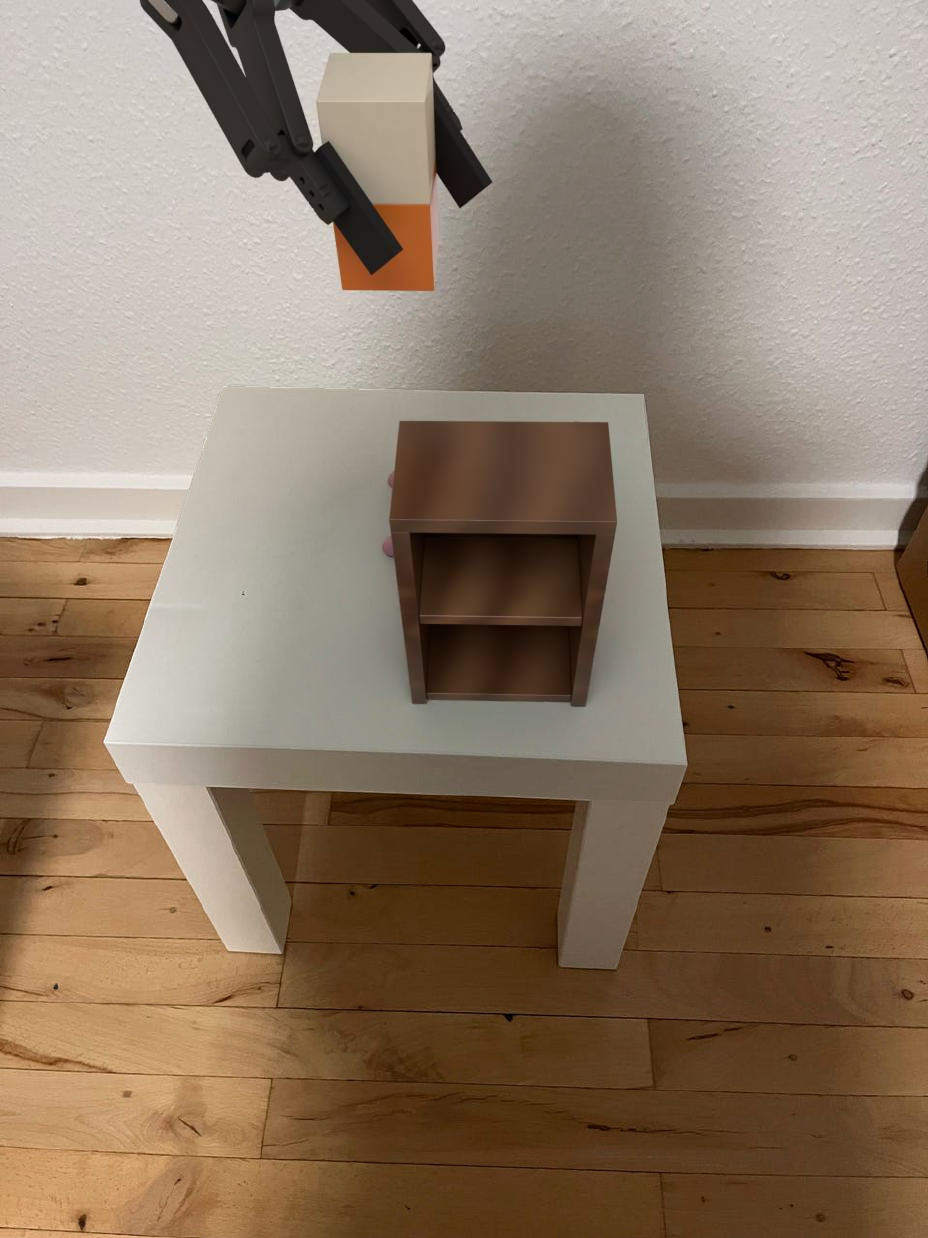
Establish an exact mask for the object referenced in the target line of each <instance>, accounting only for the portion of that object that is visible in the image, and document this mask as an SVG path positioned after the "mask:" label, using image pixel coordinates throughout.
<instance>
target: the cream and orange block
mask: <svg viewBox="0 0 928 1238" xmlns="http://www.w3.org/2000/svg"><path fill="white" fill-rule="evenodd" d="M433 76H434V73H433V74H432V54H431V53H349V52H329V53H328V58H327V62H326V65H325V68H324V73H323V76H322V79H321V83H320V85H319V90H318V93H317V97H316V100H315V103H316V112H317V119H318V126H319V134H320V140H321V145H323V144H325V143H326V142H328V141H329V142H330V143H331V145H332V146H333V147H334V149H335V150H336V152H337V153H338V155H339V156H340V158H341V159H342V161H343V162H344V163H345V165H346V166H347V168H348V169H349V171H350V172H351V174H352V175H353V177H354V178H355V179H356V181H357V182H358V184H359V185H360V187H361V188H362V190H363V191H364V193H365V194H366V195H367V197H368V198H369V200H370V201H371V203H372V204H373V206H374V207H375V209H376V210H377V211H378V213H379V214H380V216H381V217H382V219H383V220H384V222H385V223H386V225H387V226H388V227H389V229H390V230H391V232H392V233H393V235H394V236H395V238H396V239H397V241H398V242H399V243H400V245H401V246H402V248H403V250H402V251H401V252H400V253H398V254H397V255H396V256H395V257H394V258H392V259H391V260H390V261H389V262H388V263H386V264H385V265H384V266H383V267H382V268H380V269H379V270H378V271H376V272H375V273H374V274H372V275H371V274H370V273H369V271H368V270H367V269H366V267H365V266H364V264H363V263H362V262H361V260H360V259H359V257H358V256H357V255H356V253H355V252H354V250H353V249H352V247H351V246H350V245H349V243H348V242H347V240H346V239H345V238H344V236H343V235H342V233H341V232H340V230H339V229H338V228H337V226H336V225H335V223H334V222H332V226H333V234H334V240H335V248H336V256H337V263H338V270H339V277H340V284H341V290H342V291H381V292H383V291H386V292H387V291H388V292H392V291H394V292H396V291H397V292H434V291H435V285H436V277H437V266H438V265H437V264H438V257H439V256H438V255H439V246H440V245H439V244H440V228H439V227H440V226H439V225H440V224H439V201H438V180H437V178H438V177H437V176H438V175H437V173H436V148H435V123H434V99H433Z"/></svg>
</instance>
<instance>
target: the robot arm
mask: <svg viewBox="0 0 928 1238" xmlns="http://www.w3.org/2000/svg"><path fill="white" fill-rule="evenodd" d="M210 1H211V2H213V3H214V4H216V7H217V10H218V12H219V15H220V19H221V22H222V25H223V26H224V30H225V34H226V36H227V37H226V38H227V40H228V41H227V40H226V39H225V36H224V34H223V33H222V31H221V29H220V27H219V25H218V23H217V22H216V19H215V18H214V16H213V15H212V13H211V11H210V9H209V8H208V6H207V5H206V3H205V1H203V0H139V5H140V7H141V8H142V9H143V11H144V13H146V14H147V15H148V16H149V17H150V19H151V20H152V21H153V22H154V23H155V24H156V25H157V26H158V27H159V28H160V29H161V30H162V31H163V33H164V34H165V35H166V36H167V37H168V38H169V39H170V40H171V42H172V43H173V45H174V47H175V49H176V51H177V53H178V54H179V56H180V58H181V59H182V62H183V63H184V65H185V67H186V68H187V70H188V72H189V74H190V75H191V77H192V79H193V81H194V83H195V85H196V86H197V89H198V90H199V91H200V93H201V95H202V97H203V99H204V101H205V103H206V105H207V106H208V108H209V110H210V111H211V113H212V115H213V117H214V118H215V120H216V122H217V124H218V126H219V127H220V129H221V131H222V133H223V135H224V136H225V138H226V140H227V142H228V143H229V145H230V147H231V149H232V151H233V153H234V155H235V156H236V158H237V160H238V162H239V164H240V165H241V167H242V169H243V170H244V172H245V173H246V174H247V175H248V176H250V177H251V178H254V179H259V178H261V177H263V175H264V174H270V176H271V177H272V178H273V179H274V180H276V181H278V182H285V181H287V180H288V179H289V178H290V179H291V181H292V182H293V183H294V185H295V187H296V188H297V189H298V190H299V192H300V194H301V195H302V196H303V198H304V199H305V200H306V202H308V205H309V206H310V207H311V209H313V212H314V214H316V216H317V217H318V218H319V220H321V221H322V223H324V224H325V225H327V226H329V225H331V224H333V222H334V223H335V225H336V226H337V228H338V229H339V230H340V232H341V233H342V235H343V236H344V238H345V239H346V240H347V242H348V243H349V245H350V246H351V247H352V249H353V250H354V252H355V253H356V255H357V256H358V257H359V259H360V260H361V262H362V263H363V264H364V266H365V267H366V269H367V270H368V271H369V273H370V274H371V275H372V274H374V273H375V272H376V271H378V270H379V269H380V268H382V267H383V266H384V265H385V264H386V263H388V262H389V261H390V260H391V259H392V258H394V257H395V256H396V255H397V254H398V253H400V252H401V251H402V250H403V248H402V246H401V245H400V243H399V242H398V241H397V239H396V238H395V236H394V235H393V233H392V232H391V230H390V229H389V227H388V226H387V225H386V223H385V222H384V220H383V219H382V217H381V216H380V214H379V213H378V211H377V210H376V209H375V207H374V206H373V204H372V203H371V201H370V200H369V198H368V197H367V195H366V194H365V193H364V191H363V190H362V188H361V187H360V185H359V184H358V182H357V181H356V179H355V178H354V177H353V175H352V174H351V172H350V171H349V169H348V168H347V166H346V165H345V163H344V162H343V161H342V159H341V158H340V156H339V155H338V153H337V152H336V150H335V149H334V147H333V146H332V145H331V143H330V142H329V141H328V142H326V143H325V144H323V145H322V144H321V145H320V146H319V147H317V149H316V150H314V140H313V136H312V134H311V130H310V127H309V124H308V122H307V118H306V115H305V112H304V109H303V106H302V102H301V99H300V96H299V93H298V90H297V87H296V84H295V82H294V78H293V74H292V72H291V68H290V65H289V62H288V60H287V59H288V58H287V56H286V53H285V50H284V47H283V43H282V41H281V37H280V35H279V31H278V28H277V25H276V22H275V19H276V18H275V16H276V12H280V11H282V12H283V11H286V10H290V11H292V12H293V13H294V15H296V16H298V18H300V19H301V20H303V21H313V22H314V23H315V24H316V25H317V26H318V27H320V28H321V29H322V30H323V31H324V32H325V33H326V34H328V35H329V36H330V37H331V38H332V39H334V40H335V42H337V43H338V44H339V45H340V46H341V47H342V48H343V49H344V50H346V51H347V53H431V54H432V74H433V99H434V123H435V148H436V173H437V176H438V178H439V179H440V181H441V182H442V184H443V185H444V187H445V189H446V190H447V191H448V193H449V195H450V196H451V198H452V199H453V201H454V202H455V204H456V206H457V207H458V209H462V208H463V207H465V205H467V204H469V202H470V201H472V200H473V199H475V197H477V196H478V195H479V194H480V193H481V192H483V191H484V190H485V189H486V188H488V187H489V186H490V185H492V184H493V180H492V178H491V177H490V176H489V174H488V172H487V170H486V169H485V168H484V166H483V165H482V163H481V161H480V159H478V156H477V155H476V154H475V152H474V150H473V149H472V147H471V146H470V144H469V143H468V141H467V140H466V138H465V136H464V135H463V133H462V130H463V125H462V123H461V122H462V121H461V119H460V118H459V116H458V115H457V113H456V111H454V108H453V107H452V105H450V102H449V100H448V99H447V97H446V96H445V94H444V92H443V91H442V89H441V88H440V86H439V85H438V83H437V82H436V79H435V77H434V73H436V72H437V70H438V69H439V68H440V67H441V64H442V63H441V57H442V56H443V55H444V53H445V52H446V44H445V41H444V40H443V38H442V37H441V36H440V34H439V32H438V31H437V30H436V29H435V27H434V26H433V25H432V24H431V23H430V21H429V20H428V18H427V17H426V16H425V15H424V13H423V12H422V11H421V10H420V7H418V6H417V4H416V3H415V2H414V0H210ZM228 43H229V44H228ZM230 46H231V48H234V49H236V52H237V55H238V57H239V61H240V63H241V65H240V64H239V62H238V60H237V58H236V57H235V54H234V52H233V51H232V49H231V48H230ZM241 67H242V68H241Z"/></svg>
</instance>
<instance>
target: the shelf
mask: <svg viewBox="0 0 928 1238" xmlns="http://www.w3.org/2000/svg"><path fill="white" fill-rule="evenodd" d="M609 424H610V423H609V421H577V422H574V421H526V420H525V421H524V420H523V421H521V420H520V421H517V420H516V421H513V420H512V421H510V420H509V421H508V420H487V421H486V420H485V421H484V420H399V423H398V431H397V440H396V451H395V460H394V469H393V471H394V478H393V487H392V488H391V498H390V507H389V517H388V521H389V530H390V535H391V539H392V547H393V555H394V556H393V563H394V571H395V578H396V586H397V587H396V588H397V593H398V603H399V611H400V618H401V626H402V627H401V628H402V634H403V642H404V650H405V651H404V652H405V658H406V659H405V660H406V666H407V675H408V683H409V691H410V699H411V700H410V701H411V704H412V705H427V704H428V701H475V702H476V701H477V702H479V701H481V702H482V701H483V702H537V703H538V702H542V703H543V702H544V703H570V707H583V708H584V707H586V706H587V701H588V695H589V689H590V683H591V677H592V673H593V668H594V667H593V665H594V660H595V655H596V650H597V649H596V648H597V643H598V637H599V631H600V625H601V620H602V614H603V607H604V602H605V595H606V590H607V584H608V580H609V579H608V577H609V573H610V567H611V561H612V555H613V550H614V543H615V538H616V532H617V526H618V515H617V514H618V513H617V505H616V504H617V503H616V502H617V501H616V493H615V481H614V480H615V479H614V471H613V459H612V449H611V436H610V426H609Z"/></svg>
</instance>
